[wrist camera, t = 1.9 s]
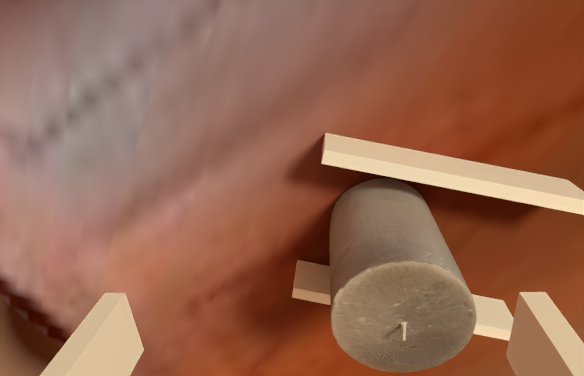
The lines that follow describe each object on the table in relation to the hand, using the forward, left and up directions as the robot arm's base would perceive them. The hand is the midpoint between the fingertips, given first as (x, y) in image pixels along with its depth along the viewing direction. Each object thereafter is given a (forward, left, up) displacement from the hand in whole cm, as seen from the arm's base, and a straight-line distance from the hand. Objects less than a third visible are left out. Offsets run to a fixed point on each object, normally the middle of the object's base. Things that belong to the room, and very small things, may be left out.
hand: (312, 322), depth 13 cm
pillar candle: (+7, -8, -24) cm, 26 cm away
